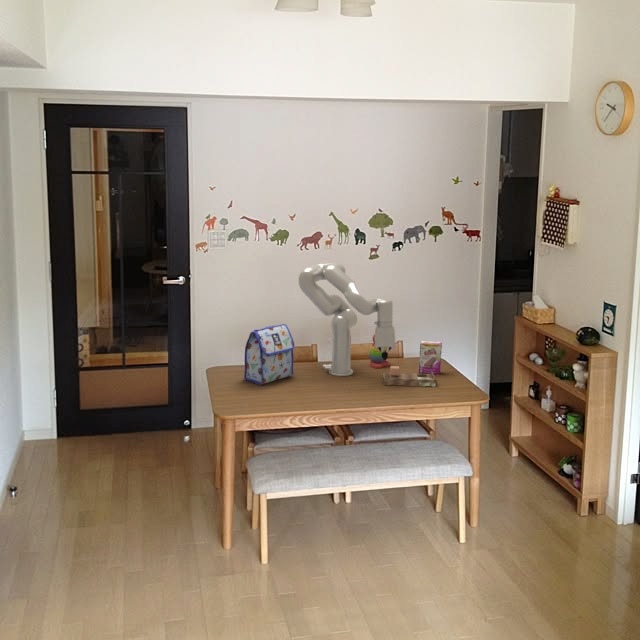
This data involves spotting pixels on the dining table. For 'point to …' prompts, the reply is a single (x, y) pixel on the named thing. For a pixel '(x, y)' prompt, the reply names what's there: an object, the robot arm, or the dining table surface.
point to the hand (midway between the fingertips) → (384, 359)
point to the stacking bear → (377, 357)
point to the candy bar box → (430, 357)
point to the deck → (410, 379)
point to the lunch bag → (269, 354)
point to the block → (394, 370)
